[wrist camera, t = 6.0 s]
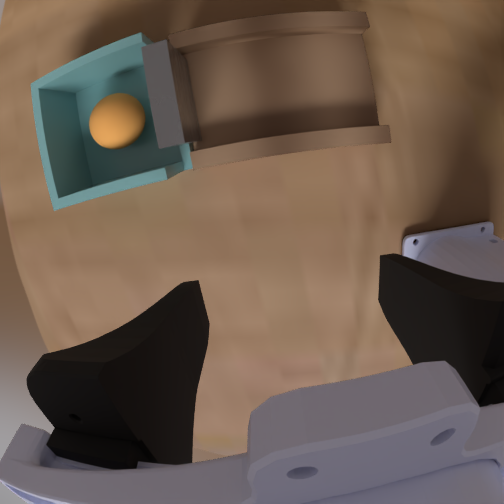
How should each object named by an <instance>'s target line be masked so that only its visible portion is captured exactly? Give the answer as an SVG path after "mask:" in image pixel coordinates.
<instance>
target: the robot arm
mask: <svg viewBox="0 0 504 504" xmlns="http://www.w3.org/2000/svg"><path fill="white" fill-rule="evenodd" d="M481 228H482V230H481ZM493 231H494V225H493V223H492V222H489V221H488V222H483V223H477V224H471V225H465V226H459V227H454V228H448V229H442V230H436V231H430V232H424V233H418V234H412V235H407V236H406V237H405V238H404V239H403V247H402V255H399V254H394V253H393V254H387V255H380V275H379V297H378V300H379V303H380V305H381V308H382V310H383V313H384V315H385V317H386V319H387V321H388V323H389V324H390V326H391V328H392V329H393V331H394V333H395V334H396V336H397V337H398V339H399V341H400V342H401V344H402V346H403V347H404V349H405V351H406V352H407V354H408V356H409V358H410V360H411V362H412V364H413V365H411V366H407V367H403V368H399V369H395V370H391V371H387V372H383V373H379V374H375V375H370V376H365V377H361V378H356V379H351V380H346V381H340V382H335V383H329V384H323V385H317V386H311V387H304V388H298V389H295V390H292V391H289V392H285V393H282V394H279V395H275V396H272V397H270V398H269V399H267V400H266V401H265V402H264V403H262V404H261V405H260V406H259V407H257V408H256V409H255V410H254V411H252V412H251V415H250V420H249V425H248V445H247V453H242V454H238V455H233V456H228V457H223V458H218V459H213V460H208V461H201V462H195V463H192V448H193V426H194V412H195V402H196V394H197V388H198V384H199V379H200V375H201V371H202V367H203V363H204V359H205V354H206V350H207V346H208V337H209V324H210V323H209V320H208V316H207V312H206V308H205V304H204V300H203V296H202V292H201V288H200V284H199V280H197V281H188V282H183V283H181V284H180V285H178V286H177V287H175V288H174V289H173V290H172V291H170V292H169V293H168V294H167V295H165V296H164V297H163V298H162V299H160V300H159V301H158V302H157V303H155V304H154V305H153V306H151V307H150V308H148V309H147V310H146V311H144V312H143V313H142V314H140V315H139V316H137V317H136V318H134V319H133V320H131V321H130V322H128V323H126V324H124V325H123V326H121V327H119V328H117V329H115V330H113V331H111V332H109V333H107V334H105V335H103V336H101V337H99V338H96V339H94V340H91V341H89V342H86V343H83V344H80V345H77V346H74V347H71V348H68V349H64V350H60V351H56V352H52V353H47V354H44V355H43V356H42V357H41V358H40V359H39V361H38V362H37V363H36V365H35V366H34V367H33V369H32V370H31V371H30V373H29V374H28V376H27V387H28V390H29V392H30V395H31V397H32V398H33V400H34V401H35V403H36V404H37V405H38V407H39V408H40V409H41V411H42V412H43V414H44V415H45V416H46V417H47V419H48V420H49V421H50V422H51V424H52V425H53V426H54V427H55V429H54V430H53V432H52V434H49V433H48V432H46V431H45V430H42V429H39V428H36V427H32V426H29V425H26V424H21V425H20V427H19V429H18V431H17V432H16V434H15V436H14V437H13V439H12V441H11V443H10V444H9V446H8V448H7V450H6V452H5V454H4V455H3V457H2V459H1V461H0V482H1V483H3V484H4V485H5V486H6V487H7V488H9V489H10V490H11V491H12V492H14V493H15V494H16V495H18V496H19V497H20V498H21V499H23V500H24V501H25V502H26V503H28V504H504V240H502V239H501V238H499V237H497V236H495V235H494V234H493ZM414 239H417V240H416V242H415V243H414V244H413V241H414Z"/></svg>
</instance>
